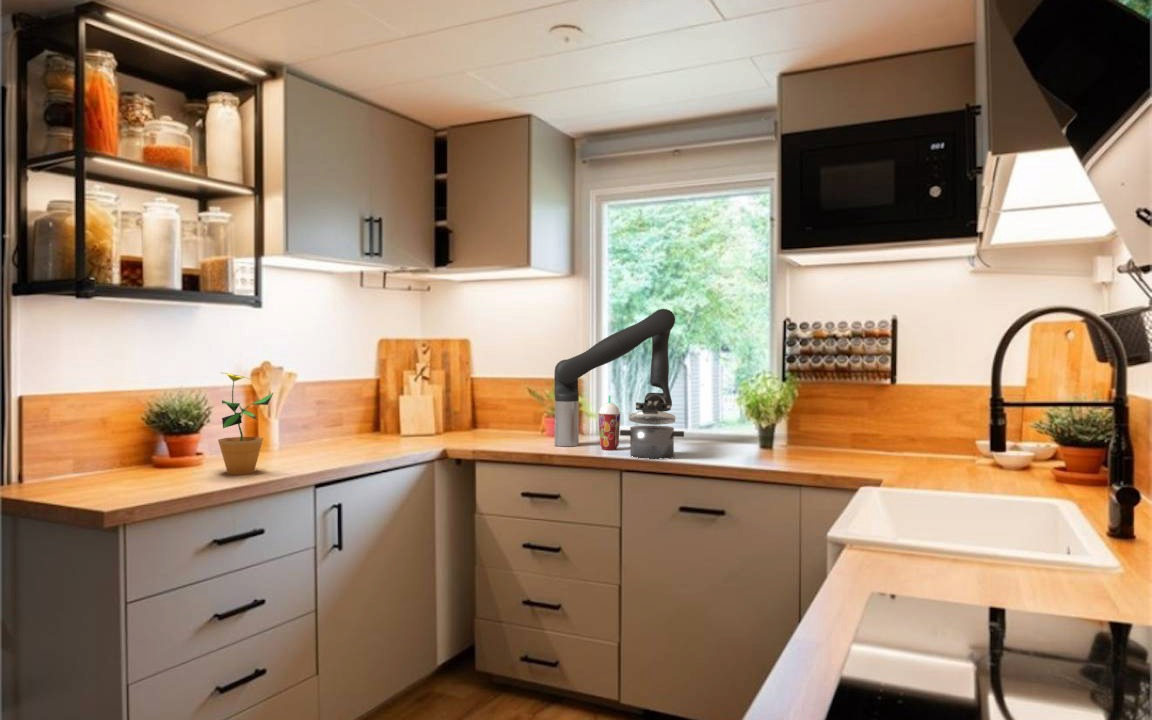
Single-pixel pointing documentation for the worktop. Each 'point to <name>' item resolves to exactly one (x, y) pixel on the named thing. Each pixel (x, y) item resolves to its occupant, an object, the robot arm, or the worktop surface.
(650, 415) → the lid
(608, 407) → the smoothie
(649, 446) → the cooker pot
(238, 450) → the potted plant
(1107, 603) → the worktop surface
